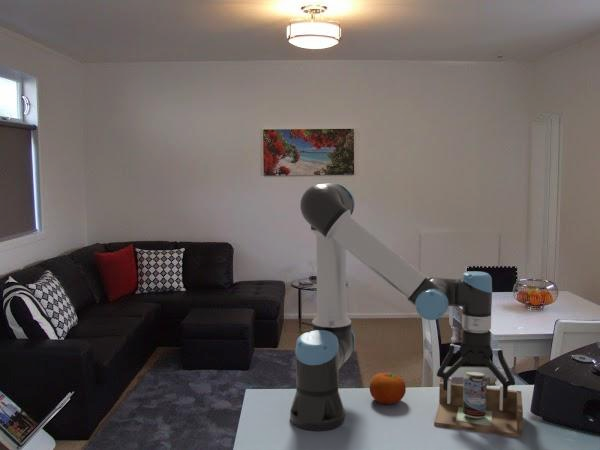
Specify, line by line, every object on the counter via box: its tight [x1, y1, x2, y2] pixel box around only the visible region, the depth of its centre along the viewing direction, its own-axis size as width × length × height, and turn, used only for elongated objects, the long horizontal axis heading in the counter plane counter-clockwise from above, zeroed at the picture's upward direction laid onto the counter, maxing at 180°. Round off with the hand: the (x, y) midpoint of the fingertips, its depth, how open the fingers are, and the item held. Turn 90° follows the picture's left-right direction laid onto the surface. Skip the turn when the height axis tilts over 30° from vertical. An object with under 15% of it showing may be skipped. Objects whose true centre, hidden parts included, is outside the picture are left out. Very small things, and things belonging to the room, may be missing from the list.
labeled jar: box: [462, 371, 488, 418], centre depth 153 cm, size 6×7×12 cm
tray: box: [433, 381, 524, 439], centre depth 153 cm, size 22×14×7 cm, turn 70°
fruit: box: [369, 372, 407, 405], centre depth 166 cm, size 11×10×8 cm
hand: (474, 405), depth 153 cm, fingers open, 13 cm apart
